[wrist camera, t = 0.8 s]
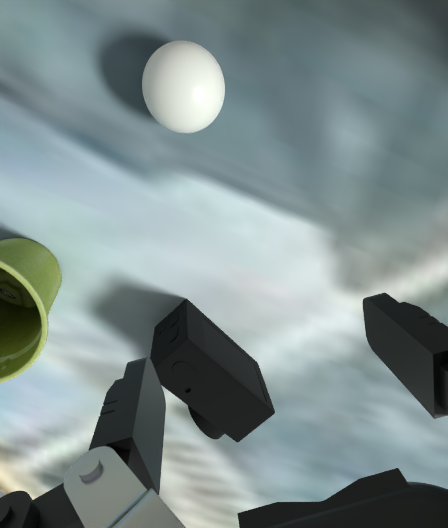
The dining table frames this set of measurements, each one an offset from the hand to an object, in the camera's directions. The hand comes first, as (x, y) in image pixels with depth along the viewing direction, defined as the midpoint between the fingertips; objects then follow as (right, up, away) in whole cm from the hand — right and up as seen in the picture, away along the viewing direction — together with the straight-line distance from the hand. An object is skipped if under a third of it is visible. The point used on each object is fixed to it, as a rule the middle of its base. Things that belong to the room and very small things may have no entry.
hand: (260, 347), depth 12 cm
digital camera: (-3, -5, +21) cm, 22 cm away
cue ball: (-4, +15, +10) cm, 19 cm away
